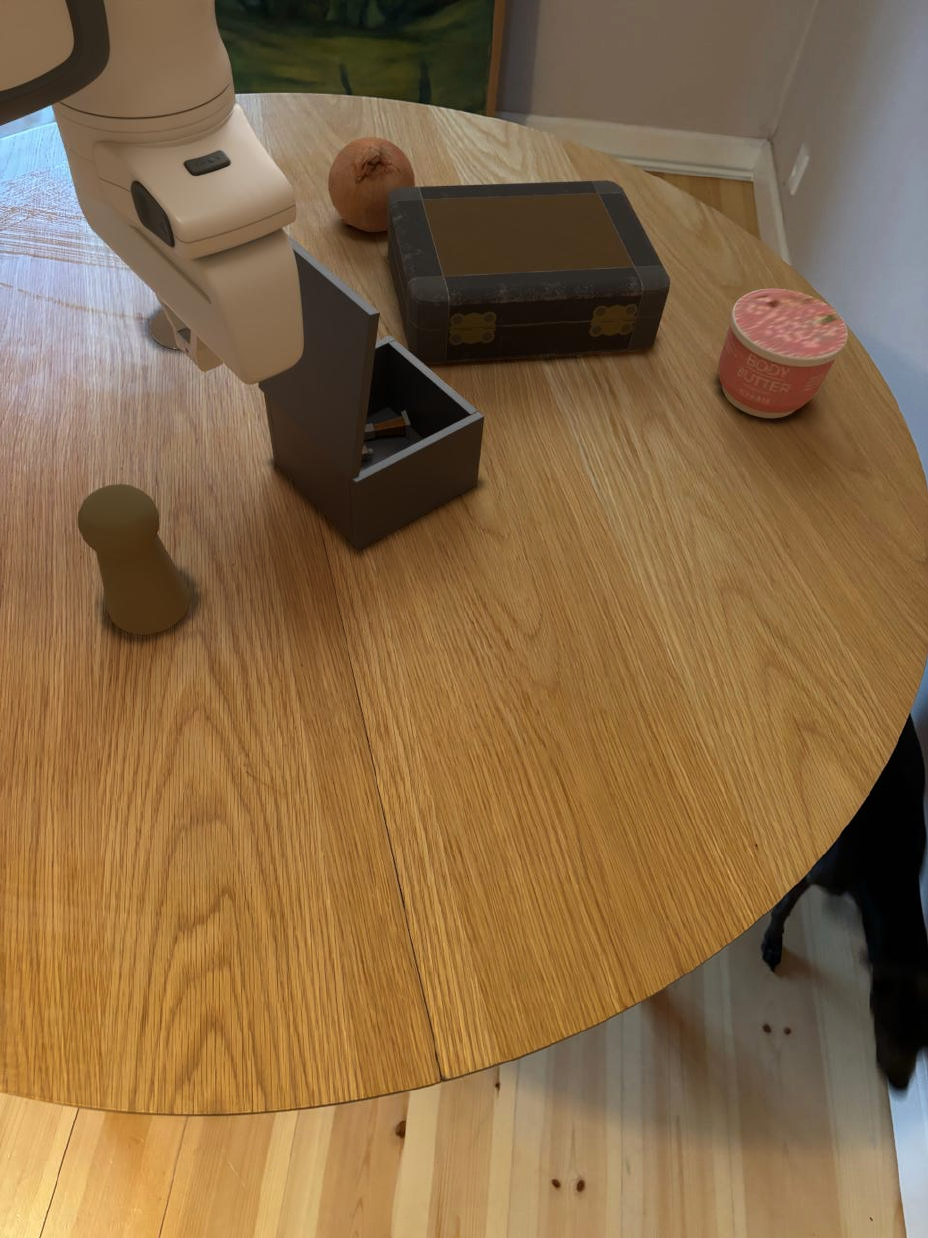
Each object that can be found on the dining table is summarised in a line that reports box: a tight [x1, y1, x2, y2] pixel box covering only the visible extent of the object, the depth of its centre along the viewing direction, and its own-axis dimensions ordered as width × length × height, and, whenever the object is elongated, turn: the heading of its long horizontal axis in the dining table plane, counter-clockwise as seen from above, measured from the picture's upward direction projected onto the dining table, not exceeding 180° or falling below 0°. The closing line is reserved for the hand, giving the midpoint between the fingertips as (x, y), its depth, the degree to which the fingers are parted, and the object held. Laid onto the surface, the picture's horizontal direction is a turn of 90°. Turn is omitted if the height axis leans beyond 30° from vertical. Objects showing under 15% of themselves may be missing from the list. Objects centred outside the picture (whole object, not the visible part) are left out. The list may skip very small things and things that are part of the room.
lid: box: [258, 233, 381, 480], centre depth 63 cm, size 13×13×1 cm
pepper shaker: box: [77, 483, 191, 636], centre depth 63 cm, size 6×6×11 cm
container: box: [718, 288, 849, 419], centre depth 84 cm, size 10×10×8 cm
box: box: [263, 334, 485, 551], centre depth 74 cm, size 13×13×8 cm
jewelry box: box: [387, 179, 671, 365], centre depth 90 cm, size 25×20×8 cm
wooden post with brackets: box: [361, 411, 411, 460], centre depth 77 cm, size 2×8×4 cm
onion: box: [327, 136, 416, 233], centre depth 97 cm, size 10×9×10 cm
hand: (201, 356), depth 57 cm, fingers closed
